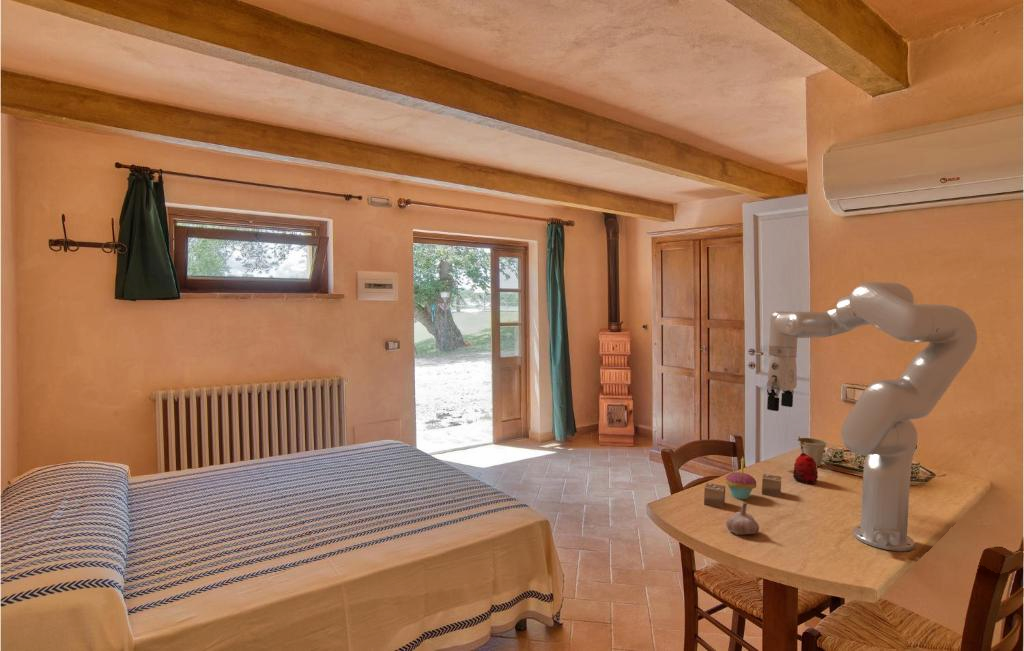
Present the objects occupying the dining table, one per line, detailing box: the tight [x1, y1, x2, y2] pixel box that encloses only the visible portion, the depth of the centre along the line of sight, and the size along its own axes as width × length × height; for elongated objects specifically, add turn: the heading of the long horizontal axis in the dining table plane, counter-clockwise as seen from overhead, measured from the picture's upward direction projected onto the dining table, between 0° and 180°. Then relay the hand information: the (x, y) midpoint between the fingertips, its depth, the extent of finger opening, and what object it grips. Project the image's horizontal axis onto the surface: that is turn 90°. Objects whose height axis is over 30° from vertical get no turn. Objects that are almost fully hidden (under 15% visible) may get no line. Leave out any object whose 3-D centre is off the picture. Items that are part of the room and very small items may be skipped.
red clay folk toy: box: [792, 436, 819, 485], centre depth 177 cm, size 8×7×15 cm
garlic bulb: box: [725, 501, 760, 536], centre depth 137 cm, size 8×7×8 cm
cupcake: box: [725, 457, 757, 500], centre depth 162 cm, size 9×8×12 cm
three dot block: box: [703, 482, 726, 509], centre depth 156 cm, size 5×5×5 cm
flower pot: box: [796, 437, 828, 467], centre depth 195 cm, size 9×9×9 cm
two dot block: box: [761, 473, 782, 498], centre depth 166 cm, size 5×5×5 cm
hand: (779, 408), depth 164 cm, fingers open, 9 cm apart
